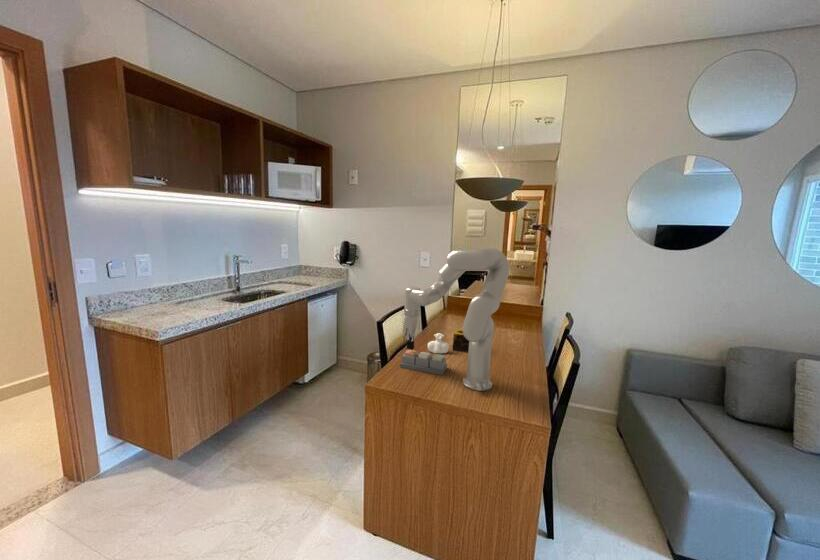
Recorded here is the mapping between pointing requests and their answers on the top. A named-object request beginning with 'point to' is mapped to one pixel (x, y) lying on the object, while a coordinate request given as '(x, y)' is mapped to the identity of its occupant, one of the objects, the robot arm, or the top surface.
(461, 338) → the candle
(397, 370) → the top surface
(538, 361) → the top surface
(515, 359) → the top surface
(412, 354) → the terracotta button
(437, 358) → the sage button
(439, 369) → the button board
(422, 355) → the cream button
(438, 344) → the bust
